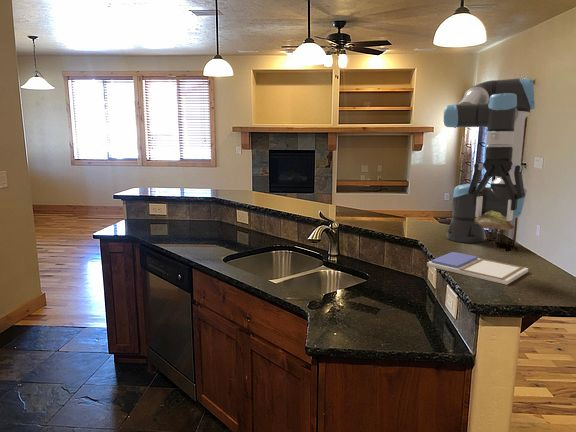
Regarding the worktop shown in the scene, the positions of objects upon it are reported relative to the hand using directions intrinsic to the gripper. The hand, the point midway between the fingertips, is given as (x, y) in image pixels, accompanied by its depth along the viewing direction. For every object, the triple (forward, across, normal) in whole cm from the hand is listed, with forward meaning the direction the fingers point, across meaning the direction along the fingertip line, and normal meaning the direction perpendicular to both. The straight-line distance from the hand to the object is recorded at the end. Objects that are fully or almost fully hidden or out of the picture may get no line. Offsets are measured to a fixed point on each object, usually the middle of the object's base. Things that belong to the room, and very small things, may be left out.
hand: (493, 218), depth 136 cm
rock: (+3, 0, 0) cm, 3 cm away
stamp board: (+18, -4, 0) cm, 18 cm away
